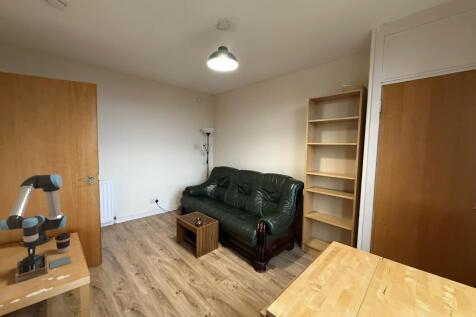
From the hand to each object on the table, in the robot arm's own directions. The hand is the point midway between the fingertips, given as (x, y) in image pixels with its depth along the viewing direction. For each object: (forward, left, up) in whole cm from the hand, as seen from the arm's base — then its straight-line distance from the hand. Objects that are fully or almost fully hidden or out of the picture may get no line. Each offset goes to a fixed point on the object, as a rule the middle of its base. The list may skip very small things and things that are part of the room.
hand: (32, 270), depth 146 cm
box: (0, 0, -1) cm, 1 cm away
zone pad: (0, +15, 0) cm, 15 cm away
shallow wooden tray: (0, 0, 0) cm, 0 cm away
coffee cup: (-19, +18, -1) cm, 26 cm away
